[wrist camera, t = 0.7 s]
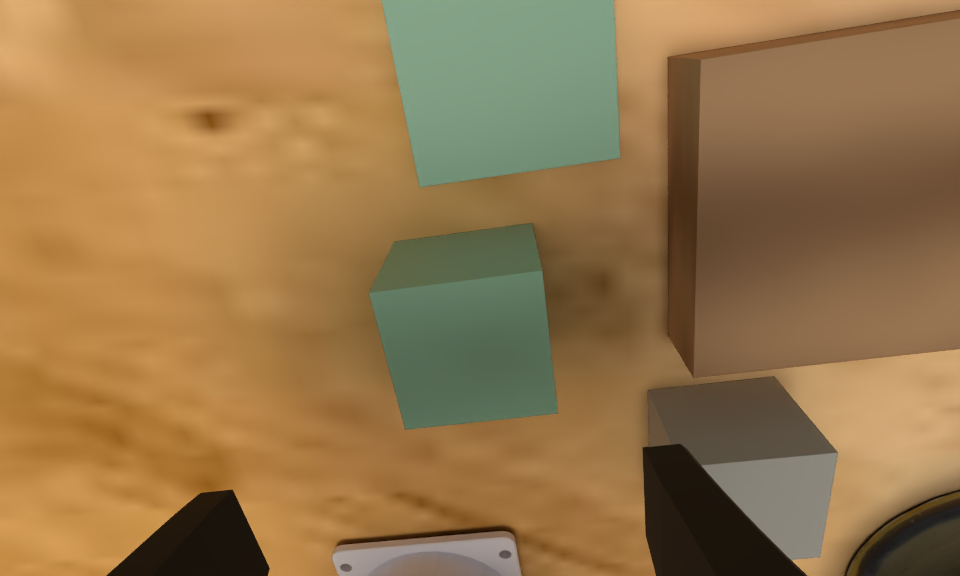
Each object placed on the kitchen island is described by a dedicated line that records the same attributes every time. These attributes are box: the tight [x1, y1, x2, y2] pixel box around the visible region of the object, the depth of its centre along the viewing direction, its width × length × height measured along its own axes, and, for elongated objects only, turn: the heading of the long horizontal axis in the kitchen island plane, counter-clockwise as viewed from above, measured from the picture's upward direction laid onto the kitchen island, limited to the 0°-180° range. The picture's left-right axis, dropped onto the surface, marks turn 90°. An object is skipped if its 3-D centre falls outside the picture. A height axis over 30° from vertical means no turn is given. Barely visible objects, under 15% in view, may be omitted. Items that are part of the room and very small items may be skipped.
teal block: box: [369, 223, 558, 430], centre depth 16 cm, size 4×4×4 cm
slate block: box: [648, 377, 838, 560], centre depth 18 cm, size 4×4×4 cm
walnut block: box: [668, 10, 960, 378], centre depth 15 cm, size 9×9×3 cm
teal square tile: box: [382, 0, 620, 187], centre depth 15 cm, size 6×6×1 cm
